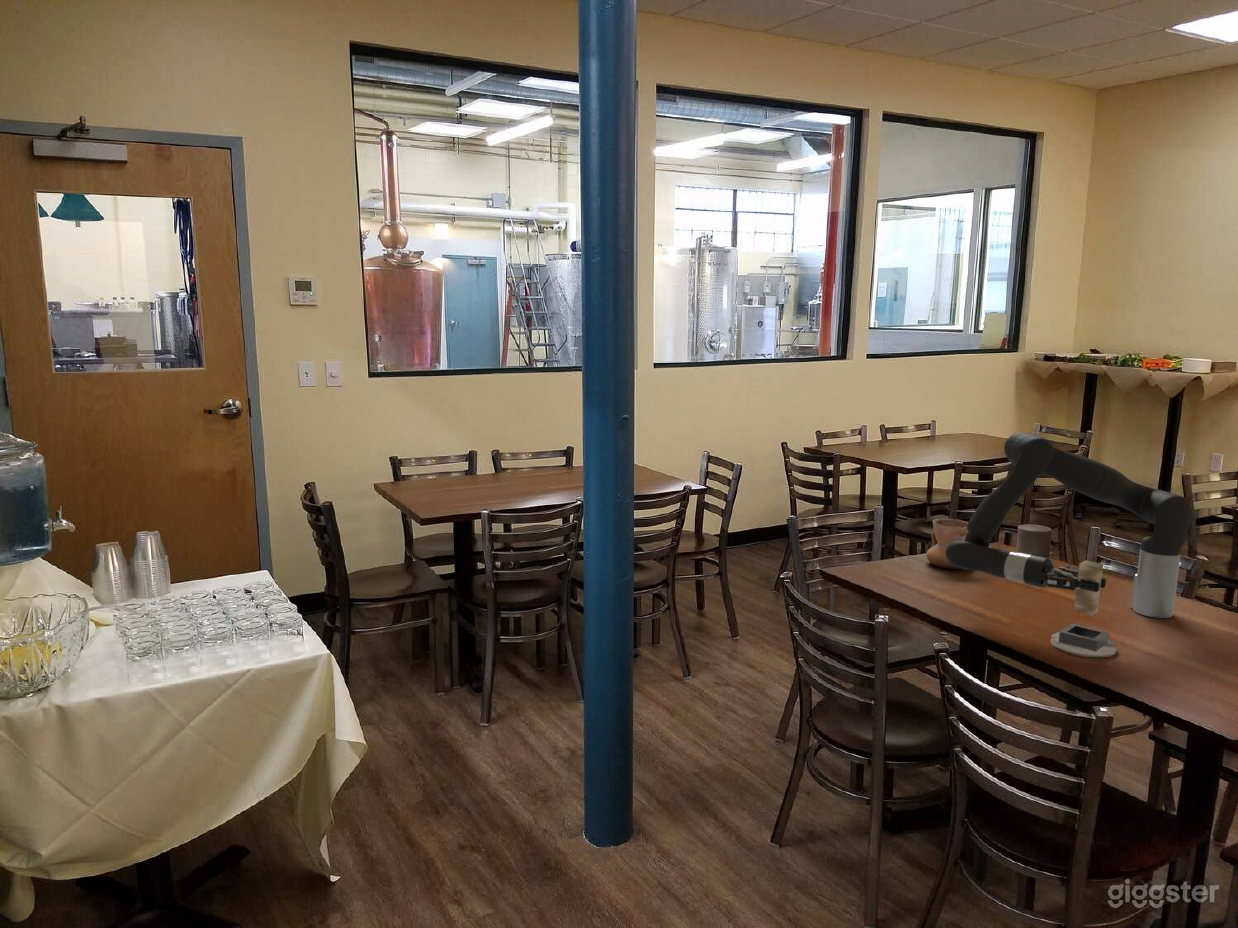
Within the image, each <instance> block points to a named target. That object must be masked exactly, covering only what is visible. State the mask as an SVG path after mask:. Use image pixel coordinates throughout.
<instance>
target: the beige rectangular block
mask: <svg viewBox="0 0 1238 928" xmlns="http://www.w3.org/2000/svg"><path fill="white" fill-rule="evenodd" d="M1078 569H1079V573H1078V578H1081V579H1082V580H1083V579H1084V580H1089V581H1093V582H1098V583H1099V584H1100V587H1099V591H1098V592H1094V591H1089V590H1085V589H1075V599H1074V606H1073V607H1074V609H1073V612H1076V613H1079V614H1083V615H1088V616H1093V615H1095V614H1097V613H1098V612H1099V611H1098V610H1099V604H1100V603H1099V602H1100V594H1101V580H1102V578H1103V572H1104V563H1101V562H1097V561H1096V562H1095V561H1091V560H1087V559H1086V560H1083V561H1081V562H1080V563H1079V564H1078Z"/></svg>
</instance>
